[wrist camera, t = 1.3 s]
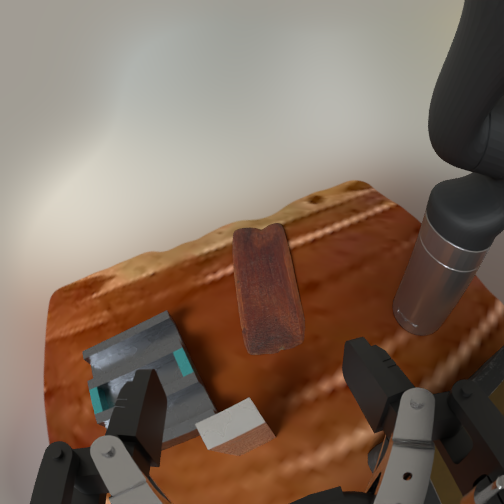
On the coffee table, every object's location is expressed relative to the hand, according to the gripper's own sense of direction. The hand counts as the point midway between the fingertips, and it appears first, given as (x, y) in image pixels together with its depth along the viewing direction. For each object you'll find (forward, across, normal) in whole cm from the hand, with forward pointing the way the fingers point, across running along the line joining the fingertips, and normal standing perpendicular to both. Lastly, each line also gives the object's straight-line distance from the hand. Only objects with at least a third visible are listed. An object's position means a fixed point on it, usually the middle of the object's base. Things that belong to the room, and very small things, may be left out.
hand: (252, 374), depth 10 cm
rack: (+18, +15, +19) cm, 30 cm away
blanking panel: (+11, +1, +22) cm, 24 cm away
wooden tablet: (+33, -5, +11) cm, 35 cm away
